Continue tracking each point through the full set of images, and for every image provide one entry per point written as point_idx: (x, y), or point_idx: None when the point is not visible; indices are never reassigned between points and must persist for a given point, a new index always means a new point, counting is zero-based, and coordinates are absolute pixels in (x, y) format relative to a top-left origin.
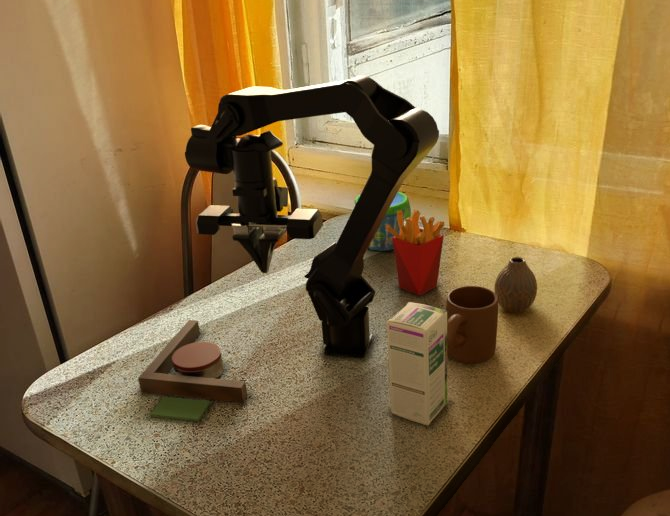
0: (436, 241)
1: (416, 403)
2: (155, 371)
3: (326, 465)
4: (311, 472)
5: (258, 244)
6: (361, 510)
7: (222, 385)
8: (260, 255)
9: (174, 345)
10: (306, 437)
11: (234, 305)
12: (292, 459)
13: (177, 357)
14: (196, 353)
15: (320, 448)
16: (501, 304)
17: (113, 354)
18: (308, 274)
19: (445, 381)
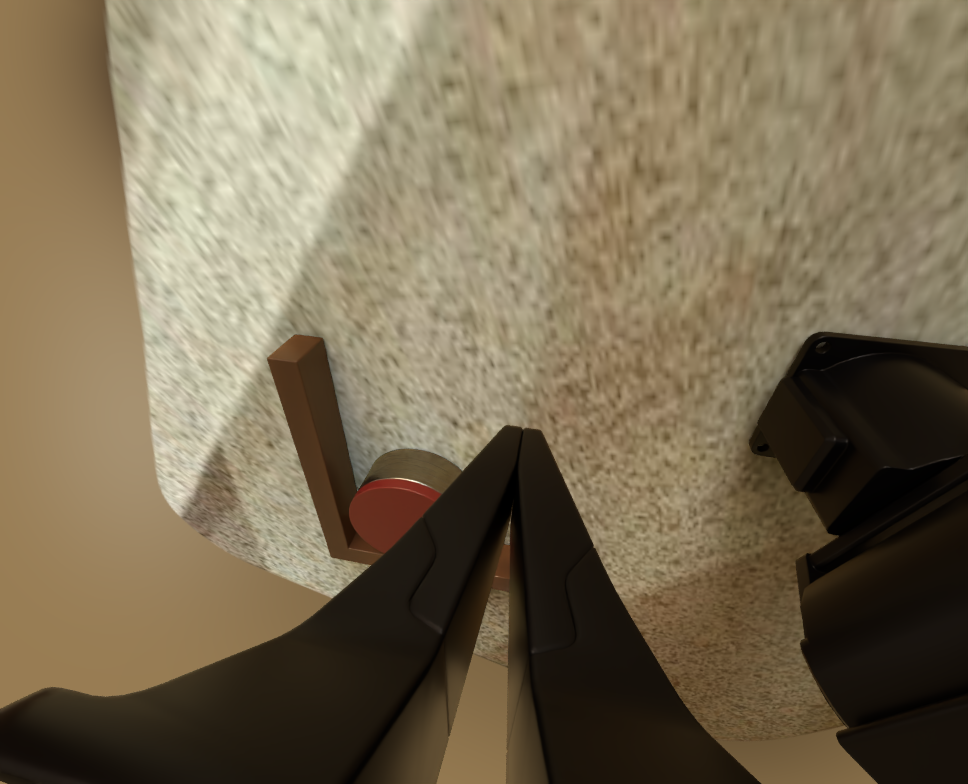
0: None
1: None
2: (348, 542)
3: (715, 667)
4: (690, 671)
5: (450, 677)
6: (757, 710)
7: (508, 591)
8: (488, 583)
9: (323, 475)
10: (683, 632)
11: (319, 102)
12: (660, 654)
13: (369, 534)
14: (404, 527)
15: (708, 648)
16: None
17: (190, 423)
18: (878, 776)
19: None
